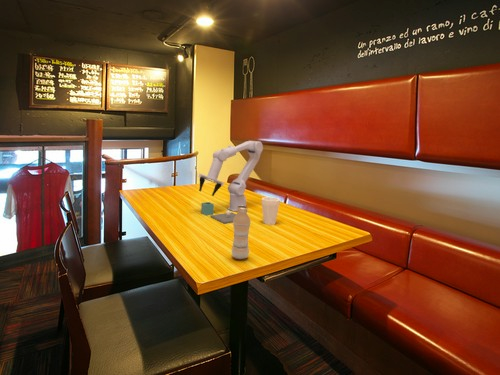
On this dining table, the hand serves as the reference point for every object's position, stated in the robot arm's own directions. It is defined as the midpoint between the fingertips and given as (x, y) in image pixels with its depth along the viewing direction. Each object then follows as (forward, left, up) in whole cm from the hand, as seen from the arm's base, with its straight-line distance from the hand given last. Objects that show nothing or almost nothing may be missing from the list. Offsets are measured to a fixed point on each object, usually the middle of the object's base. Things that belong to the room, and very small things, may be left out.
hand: (206, 193), depth 178 cm
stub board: (-6, +14, -12) cm, 19 cm away
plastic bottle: (+19, +61, -12) cm, 65 cm away
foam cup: (-21, +31, -12) cm, 39 cm away
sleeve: (-1, 0, -12) cm, 12 cm away
